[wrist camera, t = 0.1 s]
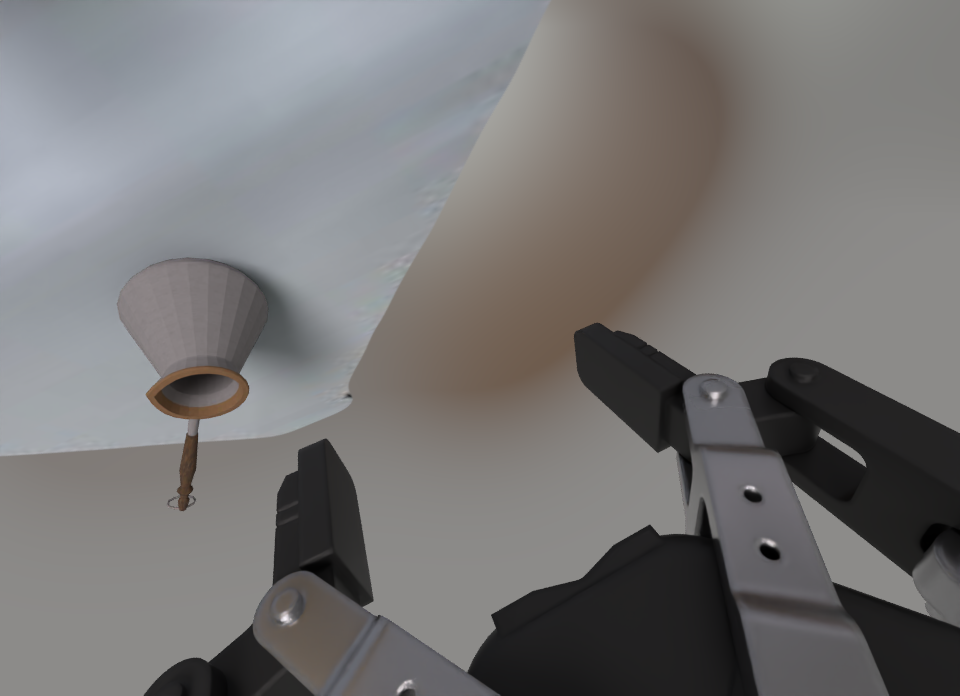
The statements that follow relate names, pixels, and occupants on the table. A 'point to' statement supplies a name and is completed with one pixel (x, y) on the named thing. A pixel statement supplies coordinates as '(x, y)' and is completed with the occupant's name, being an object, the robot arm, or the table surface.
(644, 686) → the robot arm
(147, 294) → the coffee pot
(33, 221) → the table surface
